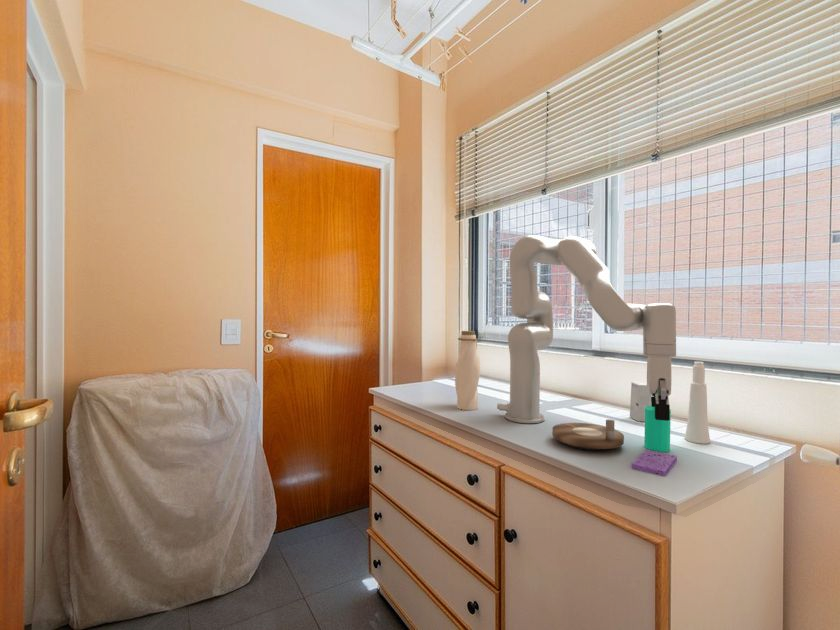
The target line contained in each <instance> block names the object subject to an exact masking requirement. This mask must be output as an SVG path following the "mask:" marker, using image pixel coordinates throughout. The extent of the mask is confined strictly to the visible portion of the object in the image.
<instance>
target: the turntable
mask: <svg viewBox="0 0 840 630" xmlns="http://www.w3.org/2000/svg"><path fill="white" fill-rule="evenodd" d="M551 428H552V432H551V433H552V437H553V438H554V439H555V440H557V441H558V442H561V443H564V444H565V443H566V444H565V445H567V444H569V445H573V446H578V447H584V448H592V449H607V450H610V449H615V448H620V447H621V446H623V445H624V443H625V435H624V434H623V433H622V432H621V431H619V430H616V429H615V419H608V418H607V419H605V426H604V425H599V424H593V423H586V422H585V423H584V422H564V423H558V424H555V425H554V426H553V427H551ZM569 445H568V446H569Z"/></svg>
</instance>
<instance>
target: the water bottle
mask: <svg viewBox="0 0 840 630" xmlns="http://www.w3.org/2000/svg"><path fill="white" fill-rule="evenodd" d="M457 340H458V341H460V342H459V351H458V352H459V353H458V354H459V358H458V359H457V362H456V365H455V370H454V384H455V386H454V387H455V391H456V397H457V400H456V401H457V402H456V408H457V409H458V408H459V410H461V409H462V410H461V411H475V410H478V409H479V392H478V387H479V381H480V376H481V372H480V371H481V362H480V357H479V353H478V350H477V349H478V338H477V336H476V331H475V330H461V334H460V337H458V338H457Z"/></svg>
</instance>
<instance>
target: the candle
mask: <svg viewBox="0 0 840 630" xmlns="http://www.w3.org/2000/svg"><path fill="white" fill-rule="evenodd" d="M671 413H672V412H671V409H670V420H669V421H665V420H656V419H655V407H652V406H646V407H645V422H644V443H643V444H644V445H643V446H644V448H646V450H651V451H654V452H660V453H665V452H670V451H671V416H672V415H671Z"/></svg>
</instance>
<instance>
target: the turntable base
mask: <svg viewBox="0 0 840 630" xmlns="http://www.w3.org/2000/svg"><path fill="white" fill-rule="evenodd" d="M566 445H567V446H569V447H571V448H575V449H579V450H584V451H596V452H597V451H598V452H599V451H607V450H608V449H592V448H584V447H578V446H573V445H569V444H566Z"/></svg>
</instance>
